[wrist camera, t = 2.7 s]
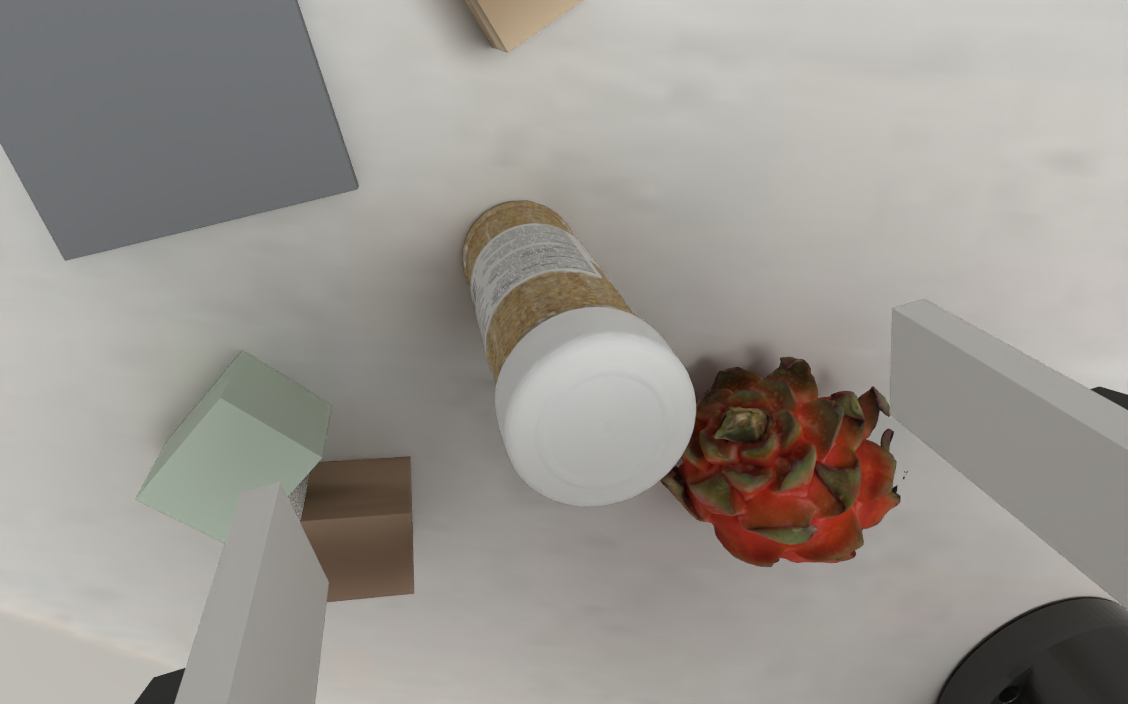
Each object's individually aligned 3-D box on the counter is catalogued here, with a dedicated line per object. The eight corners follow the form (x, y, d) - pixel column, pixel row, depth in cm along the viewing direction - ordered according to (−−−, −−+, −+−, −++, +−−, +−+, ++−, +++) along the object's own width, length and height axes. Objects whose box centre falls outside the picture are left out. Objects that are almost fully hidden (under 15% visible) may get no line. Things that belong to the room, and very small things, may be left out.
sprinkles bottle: (572, 306, 29) (691, 505, 17) (461, 311, 28) (504, 524, 16) (577, 195, 27) (713, 331, 15) (457, 196, 26) (503, 343, 14)
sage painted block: (331, 404, 29) (322, 457, 25) (258, 487, 30) (239, 550, 26) (243, 348, 27) (220, 397, 24) (168, 438, 28) (134, 499, 25)
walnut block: (412, 530, 32) (414, 593, 29) (320, 537, 32) (310, 603, 28) (410, 455, 31) (411, 513, 27) (312, 461, 30) (300, 521, 26)
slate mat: (358, 185, 26) (357, 189, 25) (72, 255, 25) (65, 260, 24) (248, -146, 21) (244, -150, 20) (-108, -76, 20) (-122, -79, 20)
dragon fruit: (631, 345, 32) (803, 412, 38) (598, 535, 30) (787, 575, 36) (780, 315, 25) (963, 402, 31) (751, 560, 23) (954, 604, 29)
